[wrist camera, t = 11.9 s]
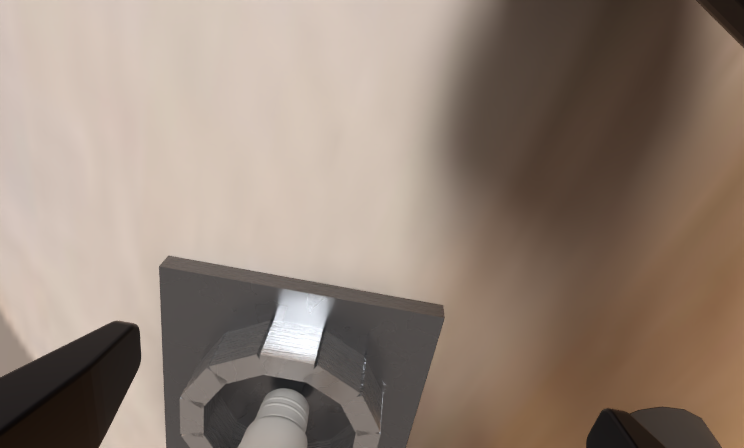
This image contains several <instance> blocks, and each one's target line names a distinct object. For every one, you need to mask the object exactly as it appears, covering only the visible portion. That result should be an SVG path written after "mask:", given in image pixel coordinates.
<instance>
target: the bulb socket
mask: <svg viewBox="0 0 744 448" xmlns="http://www.w3.org/2000/svg"><path fill="white" fill-rule="evenodd" d="M159 275H160V300H161V325H162V350H163V375H164V400H165V425H166V448H237V447H238V446H239V444H240V443H241V440H242V438H243V436H244V434H245V431H246V429H247V428H248V426H249V425H250V424H251V423H252V422H253V421H254V420H255V418H256V416H257V413H258V411H259V409H260V406H261V404H262V402H263V400H264V398H265V396H266V395H267V394H268V393H269V392H271V391H273V390H276V389H280V388H287V389H292V390H295V391H297V392H299V393H300V394H302V395H303V396H304V398H305V399H306V400H307V402H308V404H309V416H308V423H307V429H306V432H305V434H306V436H307V442H308V444H307V448H406V444H407V441H408V438H409V434H410V431H411V428H412V424H413V421H414V418H415V414H416V411H417V408H418V404H419V401H420V398H421V394H422V391H423V388H424V385H425V381H426V378H427V375H428V371H429V368H430V365H431V361H432V358H433V355H434V351H435V348H436V345H437V341H438V338H439V335H440V331H441V328H442V325H443V321H444V309H443V305H437V304H432V303H426V302H421V301H415V300H410V299H404V298H399V297H393V296H388V295H382V294H377V293H371V292H366V291H360V290H355V289H349V288H343V287H338V286H332V285H327V284H321V283H316V282H310V281H305V280H299V279H294V278H288V277H283V276H277V275H272V274H266V273H261V272H255V271H250V270H244V269H238V268H233V267H227V266H222V265H216V264H211V263H205V262H200V261H194V260H189V259H183V258H178V257H172V256H168V257H167V258H166V259H165V260H164V261H163V263H162V264H161V265H160V266H159Z"/></svg>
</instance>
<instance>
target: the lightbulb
mask: <svg viewBox="0 0 744 448" xmlns="http://www.w3.org/2000/svg"><path fill="white" fill-rule="evenodd" d="M308 416H309V404H308V402H307V400H306V399H305V398H304V396H303V395H302V394H300V393H299V392H297V391H295V390H292V389H287V388H280V389H276V390H273V391H271V392H269V393H268V394H267V395H266V396H265V398H264V400H263V402H262V404H261V406H260V409H259V411H258V413H257V416H256V418H255V420H254V421H253V422H252V423H251V424H250V425H249V426H248V428H247V429H246V431H245V434H244V436H243V438H242V440H241V443H240V444H239V446H238V447H237V448H307V444H308V442H307V436H306V434H305V432H306V429H307V423H308Z"/></svg>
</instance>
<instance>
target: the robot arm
mask: <svg viewBox="0 0 744 448" xmlns="http://www.w3.org/2000/svg"><path fill="white" fill-rule="evenodd" d="M696 1H697V2H698V3H699V4H700V5H701V6H702V7H703V8H704V9H705V10H706V11H707V12H708V13H709V14H710V15H711V16H712V17H713V18H714V19H715V20H716V21H717V22H718V23H719V24H720V25H721V26H722V27H723V28H724V29H725V30H726V31H727V32H728V33H729V34H730V35H731V36H732V37H733V38H734V39H735V40H736V41H737V42H738V43H739V44H740V45H741V46H742V47H743V48H744V0H696ZM140 362H141V345H140V331H139V327H138V326H137V325H136V324H134V323H129V322H123V321H113V322H111V323H109V324H107V325H105V326H103V327H101V328H99V329H97V330H95V331H93V332H91V333H89V334H87V335H85V336H83V337H81V338H79V339H77V340H75V341H73V342H71V343H69V344H67V345H65V346H62V347H60V348H58V349H56V350H54V351H52V352H50V353H48V354H46V355H44V356H42V357H40V358H38V359H36V360H34V361H32V362H30V363H28V364H26V365H24V366H22V367H20V368H18V369H16V370H14V371H12V372H10V373H8V374H6V375H4V376H2V377H0V448H99V446H100V444H101V442H102V441H103V439H104V437H105V435H106V433H107V431H108V429H109V427H110V425H111V423H112V421H113V419H114V417H115V415H116V413H117V411H118V409H119V407H120V405H121V403H122V401H123V399H124V397H125V395H126V393H127V391H128V389H129V387H130V385H131V383H132V381H133V379H134V377H135V375H136V373H137V371H138V368H139V366H140ZM586 448H666V447H665V446H664V445H663V444H662V443H661V442H660V441H659V440H658V439H656V438H655V437H654V436H653V435H652V434H651V433H650V432H649V431H648V430H647V429H646V428H644V427H643V426H642V425H641V424H640V423H639V422H638V421H637V420H636V419H635V418H634V417H633V416H631V415H630V414H629V413H627V412H625V411H621V410H615V409H610V408H606V409H604V410H602V411H601V413H600V415H599V416H598V418H597V420H596V422H595V424H594V425H593V427H592V429H591V431H590V433H589V435H588V437H587V442H586Z"/></svg>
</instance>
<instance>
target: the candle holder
mask: <svg viewBox="0 0 744 448" xmlns="http://www.w3.org/2000/svg"><path fill="white" fill-rule="evenodd" d="M630 415H631V416H633V417H634V418H635V419H636V420H637V421H638V422H639V423H640V424H641V425H642V426H643V427H644V428H646V429H647V430H648V431H649V432H650V433H651V434H652V435H653V436H654V437H655V438H656V439H658V440H659V441H660V442H661V443H662V444H663V445H664V446H665V447H666V448H722V447H721V446H720V444H719V443H718V441H717V440H716V438H715V437H714V435H713V434H712V433H711V431H710V430H709V428H708V427H707V425H706V424H705V423H704V421H703V420H702V418H700V417H698V416H696V415H694V414H692V413H690V412H688V411H686V410H683V409H675V408H667V407H658V408H651V409H644V410H638V411H636V412H634V413H631V414H630Z"/></svg>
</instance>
